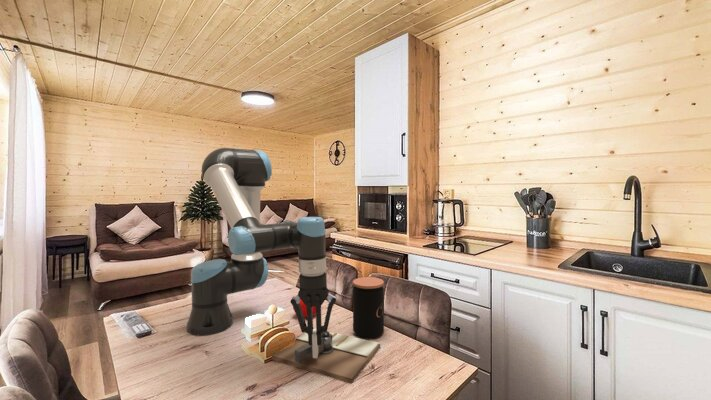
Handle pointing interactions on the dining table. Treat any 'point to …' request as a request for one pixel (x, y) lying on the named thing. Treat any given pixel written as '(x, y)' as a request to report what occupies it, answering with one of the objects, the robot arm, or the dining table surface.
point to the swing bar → (306, 350)
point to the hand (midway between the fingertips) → (315, 355)
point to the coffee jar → (368, 307)
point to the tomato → (305, 309)
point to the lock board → (333, 356)
